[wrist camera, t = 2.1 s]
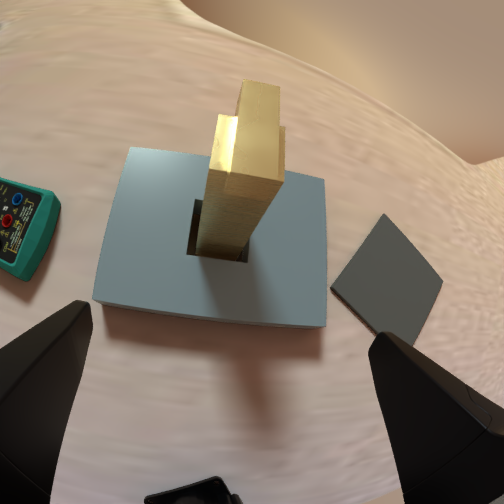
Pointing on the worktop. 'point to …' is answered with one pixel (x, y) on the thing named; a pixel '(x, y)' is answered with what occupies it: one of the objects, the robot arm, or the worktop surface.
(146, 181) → the block
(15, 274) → the digital multimeter
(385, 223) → the rubber mat
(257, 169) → the brass key
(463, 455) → the robot arm
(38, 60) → the worktop surface
